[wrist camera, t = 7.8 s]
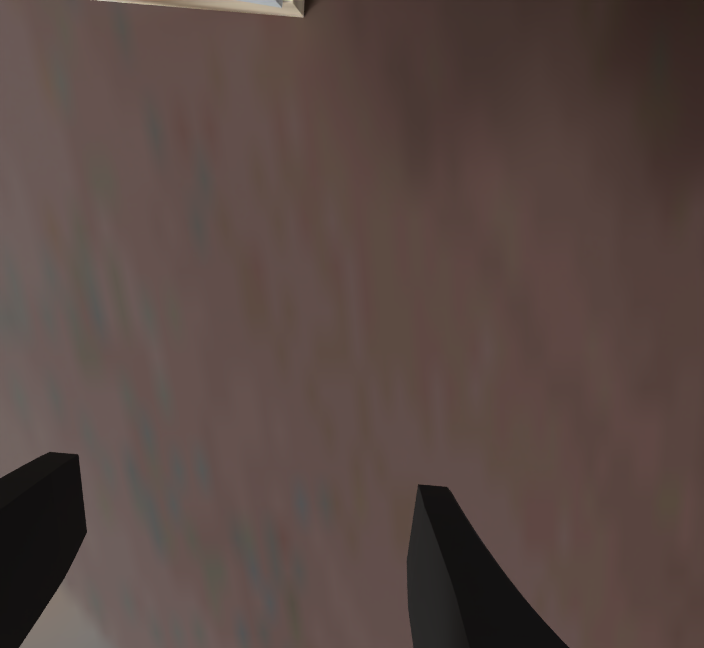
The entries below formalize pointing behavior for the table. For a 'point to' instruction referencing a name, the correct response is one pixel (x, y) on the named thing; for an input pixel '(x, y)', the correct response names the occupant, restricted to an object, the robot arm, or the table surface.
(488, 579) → the robot arm
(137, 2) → the birch slab
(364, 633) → the table surface
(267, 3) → the grey-blue slab
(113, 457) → the table surface
